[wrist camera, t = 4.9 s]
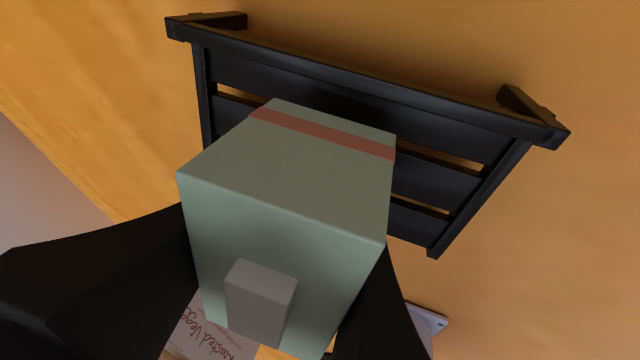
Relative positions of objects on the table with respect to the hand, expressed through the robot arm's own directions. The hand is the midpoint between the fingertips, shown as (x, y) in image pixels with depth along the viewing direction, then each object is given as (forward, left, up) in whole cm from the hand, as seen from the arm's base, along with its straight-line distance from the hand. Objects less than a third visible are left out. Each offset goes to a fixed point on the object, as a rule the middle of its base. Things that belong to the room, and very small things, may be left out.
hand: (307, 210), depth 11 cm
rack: (0, 0, -8) cm, 8 cm away
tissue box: (0, 0, -1) cm, 1 cm away
